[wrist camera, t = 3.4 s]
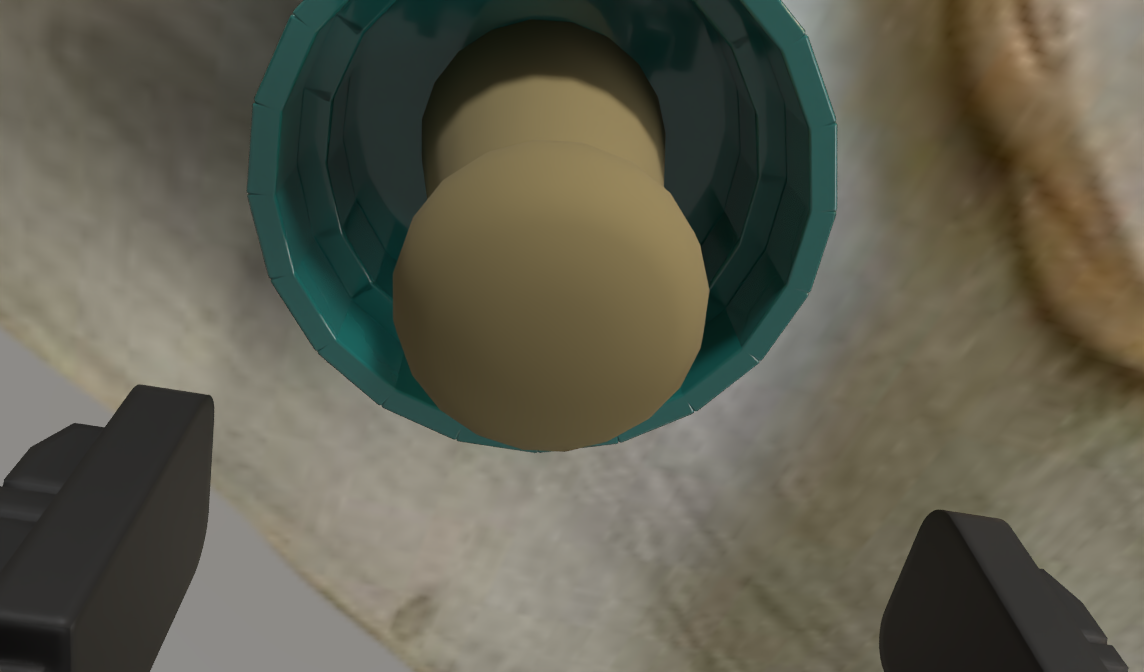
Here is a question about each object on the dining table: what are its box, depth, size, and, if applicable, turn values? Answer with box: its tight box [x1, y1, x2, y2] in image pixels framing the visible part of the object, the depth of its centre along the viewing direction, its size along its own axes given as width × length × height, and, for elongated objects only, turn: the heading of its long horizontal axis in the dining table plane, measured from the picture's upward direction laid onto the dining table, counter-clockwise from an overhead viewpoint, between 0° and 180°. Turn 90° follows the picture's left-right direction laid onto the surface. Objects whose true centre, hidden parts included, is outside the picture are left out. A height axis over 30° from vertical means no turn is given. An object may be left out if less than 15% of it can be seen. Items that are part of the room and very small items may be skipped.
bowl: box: [247, 0, 837, 453], centre depth 24 cm, size 12×12×5 cm
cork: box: [393, 19, 709, 452], centre depth 20 cm, size 6×6×11 cm
